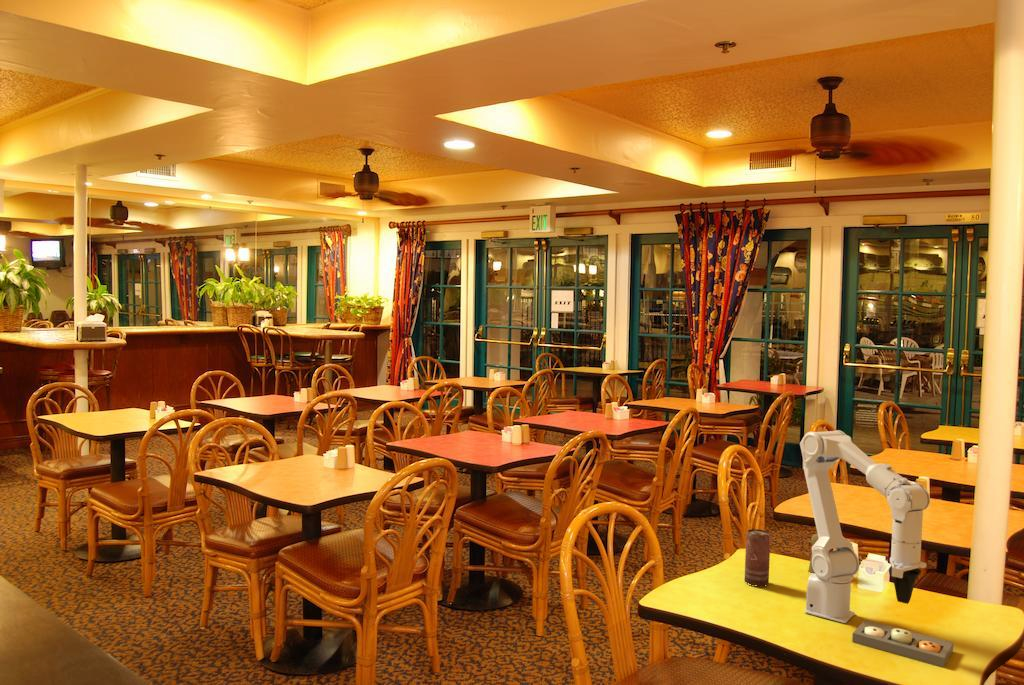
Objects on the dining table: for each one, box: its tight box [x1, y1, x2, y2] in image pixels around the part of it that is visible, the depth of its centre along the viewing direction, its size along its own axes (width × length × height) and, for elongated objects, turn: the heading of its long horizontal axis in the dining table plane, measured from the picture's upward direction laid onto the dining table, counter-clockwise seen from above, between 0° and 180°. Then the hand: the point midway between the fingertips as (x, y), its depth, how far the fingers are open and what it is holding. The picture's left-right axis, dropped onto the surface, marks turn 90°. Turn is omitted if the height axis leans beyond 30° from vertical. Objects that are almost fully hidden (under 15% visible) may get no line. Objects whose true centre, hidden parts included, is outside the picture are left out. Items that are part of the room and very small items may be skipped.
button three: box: [919, 641, 940, 653], centre depth 165 cm, size 4×4×2 cm
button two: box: [891, 628, 912, 645], centre depth 169 cm, size 4×4×2 cm
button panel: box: [851, 619, 955, 668], centre depth 170 cm, size 18×10×2 cm, turn 51°
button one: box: [864, 626, 884, 638], centre depth 172 cm, size 4×4×2 cm
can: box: [744, 528, 771, 587], centre depth 206 cm, size 6×6×14 cm
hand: (903, 601), depth 168 cm, fingers closed
